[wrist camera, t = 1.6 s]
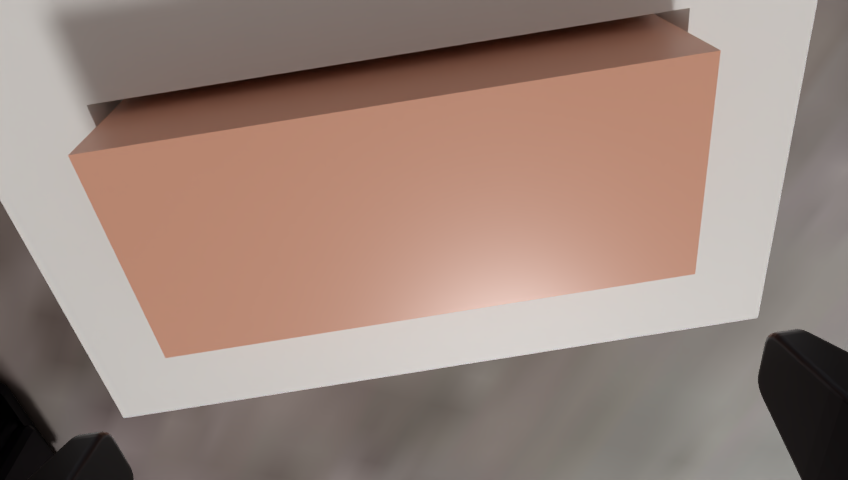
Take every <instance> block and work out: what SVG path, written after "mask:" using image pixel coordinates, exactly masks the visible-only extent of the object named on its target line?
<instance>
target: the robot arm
mask: <svg viewBox="0 0 848 480" xmlns="http://www.w3.org/2000/svg"><path fill="white" fill-rule="evenodd" d="M758 384H759V389H760V392H761V395H762V397H763V399H764V401H765V403H766V406H767V408H768V410H769V412H770V414H771V416H772V418H773V420H774V422H775V425H776V427H777V429H778V431H779V433H780V435H781V437H782V439H783V441H784V444H785V446H786V448H787V450H788V452H789V454H790V456H791V458H792V460H793V463H794V465H795V467H796V469H797V471H798V473H799V475H800V477H801V479H802V480H848V352H846V351H845V350H843V349H841V348H839V347H837V346H835V345H833V344H831V343H829V342H827V341H825V340H823V339H821V338H819V337H817V336H815V335H813V334H811V333H809V332H807V331H804V330H800V329H795V330H788V331H781V332H775V333H772V334H770V335H769V336H768V337H767V339H766V342H765V346H764V351H763V355H762V360H761V365H760V369H759V374H758ZM0 480H133V473H132V470H131V467H130V465H129V464H128V462H127V460H126V459H125V457H124V455H123V454H122V452H121V450H120V448H119V447H118V445H117V443H116V442H115V440H114V438H113V437H112V436H111V435H110V434H109V433H107V432H95V433H89V434H82V435H78V436H75V437H74V438H72V439H71V440H70V441H68V442H67V443H66V444H65V445H64V446H63V447H62V448H61V449H60V450H59V451H58V452H56V453H55V454H53V452H52V451H51V449H50V448H49V446H48V445H47V443H46V442H45V440H44V439H43V437H42V436H41V434H40V433H39V432H38V430H37V429H36V427H35V426H34V424H33V423H32V421H31V420H30V418H29V417H28V415H27V414H26V413H25V411H24V410H23V408H22V407H21V405H20V404H19V402H18V401H17V399H16V398H15V396H14V395H13V394H12V392H11V391H10V389H9V388H8V387H7V386H6V385H4V384H2V383H0Z"/></svg>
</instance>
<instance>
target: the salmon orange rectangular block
mask: <svg viewBox="0 0 848 480" xmlns="http://www.w3.org/2000/svg"><path fill="white" fill-rule="evenodd" d="M720 53H721V50H719V49H717V48H715V47H714V46H712V45H710V44H708V43H706V42H704V41H703V40H701V39H699V38H697V37H695V36H694V35H692V34H690V33H688V32H686V31H684V30H683V29H681V28H679V27H677V26H675V25H674V24H672V23H670V22H668V21H666V20H664V19H663V18H661V17H659V16H657V15H655V14H648V15H642V16H636V17H630V18H624V19H617V20H611V21H605V22H599V23H592V24H586V25H580V26H574V27H568V28H561V29H555V30H549V31H543V32H537V33H530V34H524V35H518V36H512V37H506V38H499V39H493V40H487V41H481V42H475V43H468V44H462V45H456V46H450V47H443V48H437V49H431V50H425V51H419V52H412V53H406V54H400V55H394V56H388V57H381V58H375V59H369V60H363V61H357V62H350V63H344V64H338V65H332V66H326V67H319V68H313V69H307V70H301V71H294V72H288V73H282V74H276V75H270V76H263V77H257V78H251V79H245V80H239V81H232V82H226V83H220V84H214V85H208V86H201V87H195V88H189V89H183V90H177V91H170V92H164V93H158V94H152V95H145V96H139V97H133V98H127V99H123V100H122V101H121V102H120V103H119V104H118V105H117V106H116V107H115V108H114V110H113V111H112V112H111V113H110V114H109V115H108V116H107V117H106V118H105V119H104V120H103V121H102V122H101V123H100V124H99V125H98V126H97V127H96V128H95V129H94V130H93V131H92V132H91V133H90V134H89V135H88V136H87V137H86V138H85V139H84V140H83V141H82V142H81V143H80V144H79V145H78V146H77V147H76V148H75V149H74V150H73V151H72V152H71V153H70V154H69V155H68V157H69V159H70V161H71V163H72V165H73V167H74V169H75V171H76V173H77V175H78V177H79V179H80V182H81V184H82V186H83V188H84V190H85V192H86V194H87V196H88V198H89V200H90V202H91V204H92V206H93V209H94V211H95V213H96V215H97V217H98V219H99V221H100V223H101V225H102V227H103V229H104V231H105V234H106V236H107V238H108V240H109V242H110V244H111V246H112V248H113V250H114V252H115V254H116V256H117V258H118V261H119V263H120V265H121V267H122V269H123V271H124V273H125V275H126V277H127V279H128V281H129V283H130V286H131V288H132V290H133V292H134V294H135V296H136V298H137V300H138V302H139V304H140V306H141V308H142V310H143V313H144V315H145V317H146V319H147V321H148V323H149V325H150V327H151V329H152V331H153V333H154V335H155V337H156V340H157V342H158V344H159V346H160V348H161V350H162V352H163V354H164V356H165V358H170V357H176V356H182V355H189V354H195V353H201V352H207V351H214V350H220V349H226V348H233V347H239V346H245V345H252V344H258V343H264V342H270V341H277V340H283V339H289V338H296V337H302V336H308V335H315V334H321V333H327V332H333V331H340V330H346V329H352V328H359V327H365V326H371V325H378V324H384V323H390V322H396V321H403V320H409V319H415V318H422V317H428V316H434V315H440V314H447V313H453V312H459V311H466V310H472V309H478V308H485V307H491V306H497V305H503V304H510V303H516V302H522V301H529V300H535V299H541V298H548V297H554V296H560V295H566V294H573V293H579V292H585V291H592V290H598V289H604V288H611V287H617V286H623V285H629V284H636V283H642V282H648V281H655V280H661V279H667V278H674V277H680V276H686V275H692V274H695V271H696V262H697V254H698V245H699V236H700V227H701V219H702V210H703V201H704V192H705V184H706V175H707V166H708V157H709V149H710V140H711V131H712V123H713V114H714V105H715V96H716V88H717V79H718V70H719V61H720Z"/></svg>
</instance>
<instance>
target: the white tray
mask: <svg viewBox="0 0 848 480" xmlns="http://www.w3.org/2000/svg"><path fill="white" fill-rule="evenodd" d="M817 1H818V0H0V201H1V202H2V204H3V206H4V208H5V209H6V211H7V213H8V215H9V217H10V218H11V220H12V222H13V224H14V225H15V227H16V229H17V231H18V232H19V234H20V236H21V238H22V239H23V241H24V243H25V245H26V247H27V248H28V250H29V252H30V254H31V255H32V257H33V259H34V261H35V262H36V264H37V266H38V268H39V269H40V271H41V273H42V275H43V276H44V278H45V280H46V282H47V284H48V285H49V287H50V289H51V291H52V292H53V294H54V296H55V298H56V299H57V301H58V303H59V305H60V306H61V308H62V310H63V312H64V313H65V315H66V317H67V319H68V321H69V322H70V324H71V326H72V328H73V329H74V331H75V333H76V335H77V336H78V338H79V340H80V342H81V343H82V345H83V347H84V349H85V351H86V352H87V354H88V356H89V358H90V359H91V361H92V363H93V365H94V366H95V368H96V370H97V372H98V373H99V375H100V377H101V379H102V380H103V382H104V384H105V386H106V388H107V389H108V391H109V393H110V395H111V396H112V398H113V400H114V402H115V403H116V405H117V407H118V409H119V410H120V412H121V414H122V416H123V417H124V418H128V417H135V416H141V415H147V414H153V413H160V412H166V411H172V410H179V409H185V408H191V407H198V406H204V405H210V404H217V403H223V402H229V401H236V400H242V399H248V398H255V397H261V396H267V395H273V394H280V393H286V392H292V391H299V390H305V389H311V388H318V387H324V386H330V385H337V384H343V383H349V382H356V381H362V380H368V379H375V378H381V377H387V376H393V375H400V374H406V373H412V372H419V371H425V370H431V369H438V368H444V367H450V366H457V365H463V364H469V363H476V362H482V361H488V360H495V359H501V358H507V357H513V356H520V355H526V354H532V353H539V352H545V351H551V350H558V349H564V348H570V347H577V346H583V345H589V344H596V343H602V342H608V341H615V340H621V339H627V338H634V337H640V336H646V335H652V334H659V333H665V332H671V331H678V330H684V329H690V328H697V327H703V326H709V325H716V324H722V323H728V322H735V321H741V320H747V319H754V318H758V314H759V309H760V303H761V298H762V293H763V287H764V282H765V277H766V271H767V266H768V261H769V255H770V250H771V245H772V240H773V234H774V229H775V224H776V218H777V213H778V208H779V202H780V197H781V192H782V186H783V181H784V176H785V171H786V165H787V160H788V155H789V149H790V144H791V139H792V133H793V128H794V123H795V118H796V112H797V107H798V102H799V96H800V91H801V86H802V80H803V75H804V70H805V64H806V59H807V54H808V49H809V43H810V38H811V33H812V27H813V22H814V17H815V11H816V6H817ZM648 14H655V15H657V16H659V17H661V18H663V19H664V20H666V21H668V22H670V23H672V24H674V25H675V26H677V27H679V28H681V29H683V30H684V31H686V32H688V33H690V34H692V35H694V36H695V37H697V38H699V39H701V40H703V41H704V42H706V43H708V44H710V45H712V46H714V47H715V48H717V49H719V50H721V53H720V61H719V70H718V79H717V88H716V96H715V105H714V114H713V123H712V131H711V140H710V149H709V157H708V166H707V175H706V184H705V192H704V201H703V210H702V219H701V227H700V236H699V245H698V254H697V262H696V271H695V274H692V275H686V276H680V277H674V278H667V279H661V280H655V281H648V282H642V283H636V284H629V285H623V286H617V287H611V288H604V289H598V290H592V291H585V292H579V293H573V294H566V295H560V296H554V297H548V298H541V299H535V300H529V301H522V302H516V303H510V304H503V305H497V306H491V307H485V308H478V309H472V310H466V311H459V312H453V313H447V314H440V315H434V316H428V317H422V318H415V319H409V320H403V321H396V322H390V323H384V324H378V325H371V326H365V327H359V328H352V329H346V330H340V331H333V332H327V333H321V334H315V335H308V336H302V337H296V338H289V339H283V340H277V341H270V342H264V343H258V344H252V345H245V346H239V347H233V348H226V349H220V350H214V351H207V352H201V353H195V354H189V355H182V356H176V357H170V358H165V356H164V354H163V352H162V350H161V348H160V346H159V344H158V342H157V340H156V337H155V335H154V333H153V331H152V329H151V327H150V325H149V323H148V321H147V319H146V317H145V315H144V313H143V310H142V308H141V306H140V304H139V302H138V300H137V298H136V296H135V294H134V292H133V290H132V288H131V286H130V283H129V281H128V279H127V277H126V275H125V273H124V271H123V269H122V267H121V265H120V263H119V261H118V258H117V256H116V254H115V252H114V250H113V248H112V246H111V244H110V242H109V240H108V238H107V236H106V234H105V231H104V229H103V227H102V225H101V223H100V221H99V219H98V217H97V215H96V213H95V211H94V209H93V206H92V204H91V202H90V200H89V198H88V196H87V194H86V192H85V190H84V188H83V186H82V184H81V182H80V179H79V177H78V175H77V173H76V171H75V169H74V167H73V165H72V163H71V161H70V159H69V157H68V155H69V154H70V153H71V152H72V151H73V150H74V149H75V148H76V147H77V146H78V145H79V144H80V143H81V142H82V141H83V140H84V139H85V138H86V137H87V136H88V135H89V134H90V133H91V132H92V131H93V130H94V129H95V128H96V127H97V126H98V125H99V124H100V123H101V122H102V121H103V120H104V119H105V118H106V117H107V116H108V115H109V114H110V113H111V112H112V111H113V110H114V108H115V107H116V106H117V105H118V104H119V103H120V102H121V101H122V100H123V99H127V98H133V97H139V96H145V95H152V94H158V93H164V92H170V91H177V90H183V89H189V88H195V87H201V86H208V85H214V84H220V83H226V82H232V81H239V80H245V79H251V78H257V77H263V76H270V75H276V74H282V73H288V72H294V71H301V70H307V69H313V68H319V67H326V66H332V65H338V64H344V63H350V62H357V61H363V60H369V59H375V58H381V57H388V56H394V55H400V54H406V53H412V52H419V51H425V50H431V49H437V48H443V47H450V46H456V45H462V44H468V43H475V42H481V41H487V40H493V39H499V38H506V37H512V36H518V35H524V34H530V33H537V32H543V31H549V30H555V29H561V28H568V27H574V26H580V25H586V24H592V23H599V22H605V21H611V20H617V19H624V18H630V17H636V16H642V15H648Z"/></svg>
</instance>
